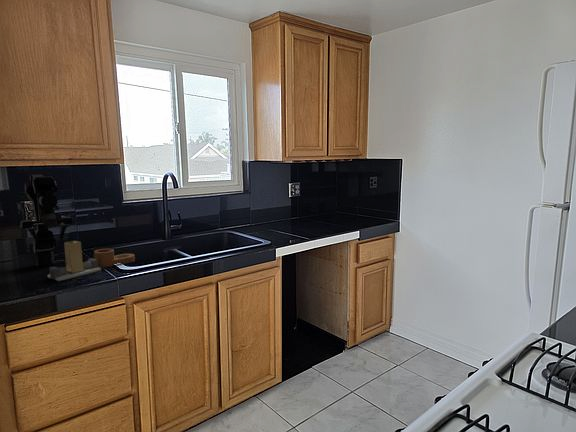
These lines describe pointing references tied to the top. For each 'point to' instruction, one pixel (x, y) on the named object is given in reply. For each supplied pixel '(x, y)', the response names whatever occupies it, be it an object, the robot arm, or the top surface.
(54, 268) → the plate with raised blocks
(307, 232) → the top surface
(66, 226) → the robot arm
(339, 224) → the top surface
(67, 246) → the gold tall square block
